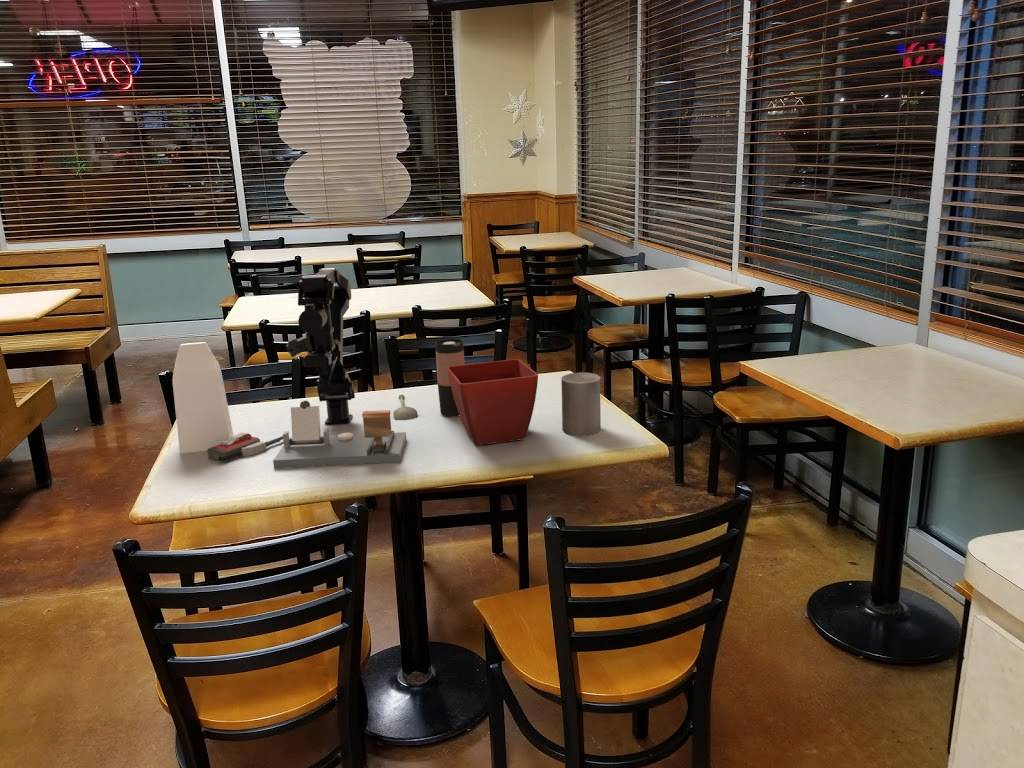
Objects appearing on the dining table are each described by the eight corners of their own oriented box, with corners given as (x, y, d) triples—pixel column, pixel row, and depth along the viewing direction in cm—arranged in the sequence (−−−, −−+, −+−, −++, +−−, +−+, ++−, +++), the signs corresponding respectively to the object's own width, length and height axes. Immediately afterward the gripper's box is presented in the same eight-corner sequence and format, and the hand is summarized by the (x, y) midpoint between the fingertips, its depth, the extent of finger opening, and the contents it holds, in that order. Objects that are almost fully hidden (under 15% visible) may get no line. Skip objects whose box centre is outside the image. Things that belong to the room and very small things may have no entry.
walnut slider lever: (367, 446, 198) (364, 410, 195) (393, 445, 198) (390, 408, 195) (365, 452, 194) (361, 415, 191) (391, 450, 194) (388, 413, 191)
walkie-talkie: (226, 467, 196) (291, 441, 212) (224, 449, 194) (289, 425, 211) (202, 461, 200) (267, 437, 216) (200, 443, 199) (265, 420, 215)
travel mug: (442, 408, 233) (437, 338, 228) (469, 408, 232) (465, 338, 227) (437, 417, 225) (432, 345, 220) (465, 416, 225) (461, 344, 219)
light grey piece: (291, 445, 201) (289, 401, 201) (324, 443, 202) (322, 399, 202) (288, 445, 199) (286, 401, 199) (322, 444, 199) (320, 399, 199)
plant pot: (450, 428, 215) (446, 365, 211) (521, 420, 220) (519, 358, 215) (464, 452, 198) (460, 383, 193) (541, 442, 202) (539, 375, 197)
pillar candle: (560, 425, 215) (558, 368, 210) (597, 422, 215) (596, 366, 211) (565, 437, 205) (563, 378, 201) (604, 434, 206) (603, 376, 202)
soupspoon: (393, 425, 224) (418, 424, 225) (393, 413, 223) (418, 412, 224) (390, 400, 245) (413, 399, 246) (390, 389, 244) (413, 388, 245)
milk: (180, 453, 205) (164, 350, 199) (184, 439, 216) (169, 341, 209) (231, 447, 208) (217, 345, 202) (233, 433, 219) (219, 336, 212)
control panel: (289, 445, 208) (287, 424, 206) (406, 439, 208) (404, 418, 207) (274, 468, 192) (271, 445, 191) (400, 462, 193) (398, 439, 191)
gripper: (295, 320, 216) (302, 378, 220) (278, 334, 198) (285, 397, 202) (338, 317, 216) (344, 376, 220) (325, 332, 198) (331, 395, 202)
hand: (326, 386), depth 211 cm, fingers closed
